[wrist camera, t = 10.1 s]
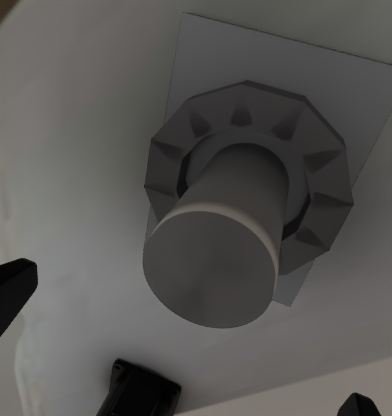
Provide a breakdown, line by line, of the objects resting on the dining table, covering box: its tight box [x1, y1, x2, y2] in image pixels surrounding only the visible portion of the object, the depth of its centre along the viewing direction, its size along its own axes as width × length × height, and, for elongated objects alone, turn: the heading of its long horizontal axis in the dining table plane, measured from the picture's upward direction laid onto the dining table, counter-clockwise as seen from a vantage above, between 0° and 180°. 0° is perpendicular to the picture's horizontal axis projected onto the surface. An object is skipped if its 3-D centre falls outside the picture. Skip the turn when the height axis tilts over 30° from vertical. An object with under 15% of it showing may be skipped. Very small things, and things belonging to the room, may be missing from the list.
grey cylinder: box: [143, 143, 289, 328], centre depth 14 cm, size 5×5×8 cm
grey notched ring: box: [143, 12, 392, 307], centre depth 18 cm, size 14×10×2 cm
